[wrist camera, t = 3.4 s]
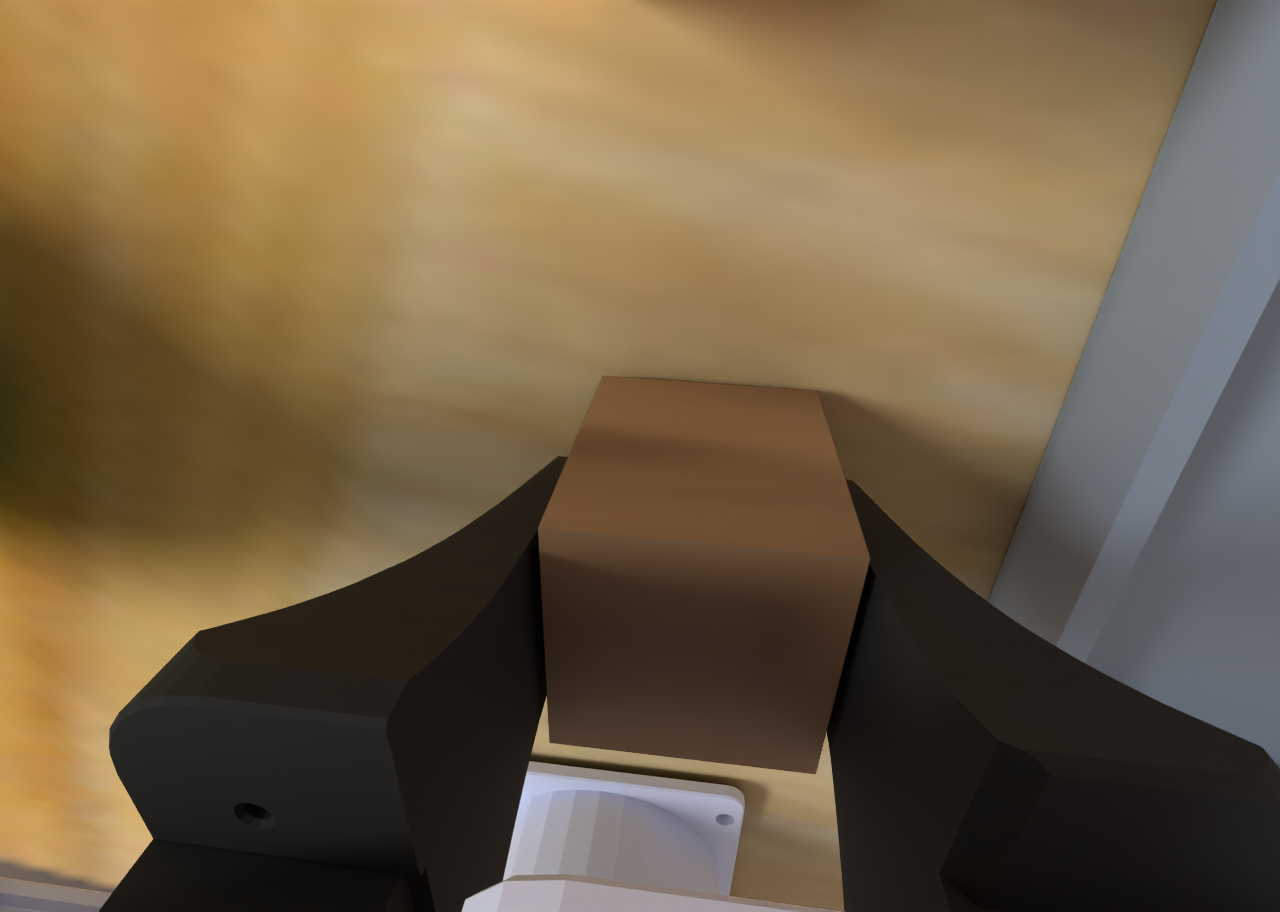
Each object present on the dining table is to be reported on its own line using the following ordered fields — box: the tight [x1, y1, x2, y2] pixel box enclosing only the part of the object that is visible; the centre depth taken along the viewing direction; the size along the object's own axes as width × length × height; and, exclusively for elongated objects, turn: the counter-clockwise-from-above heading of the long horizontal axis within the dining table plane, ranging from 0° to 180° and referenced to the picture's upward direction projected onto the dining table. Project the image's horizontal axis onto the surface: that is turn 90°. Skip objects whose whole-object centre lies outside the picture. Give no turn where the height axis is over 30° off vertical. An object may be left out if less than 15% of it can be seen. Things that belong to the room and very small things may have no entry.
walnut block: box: [538, 376, 870, 774], centre depth 11 cm, size 4×4×5 cm
